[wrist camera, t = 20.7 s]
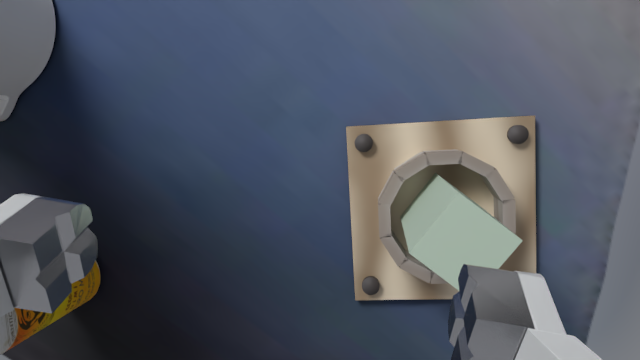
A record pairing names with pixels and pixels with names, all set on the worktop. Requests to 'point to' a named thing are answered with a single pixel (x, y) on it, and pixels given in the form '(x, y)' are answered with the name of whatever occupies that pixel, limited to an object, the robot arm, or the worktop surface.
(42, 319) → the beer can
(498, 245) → the green peg
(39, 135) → the worktop surface
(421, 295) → the bolt socket plate
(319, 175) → the worktop surface
